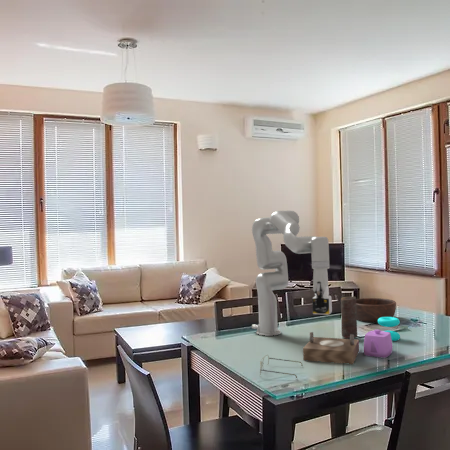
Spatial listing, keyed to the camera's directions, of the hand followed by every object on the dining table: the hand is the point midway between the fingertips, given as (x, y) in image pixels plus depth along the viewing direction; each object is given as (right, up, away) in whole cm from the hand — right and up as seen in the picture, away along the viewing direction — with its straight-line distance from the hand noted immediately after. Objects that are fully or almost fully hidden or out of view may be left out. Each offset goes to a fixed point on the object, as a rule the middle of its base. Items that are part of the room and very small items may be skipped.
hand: (322, 305), depth 204 cm
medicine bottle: (0, -3, 0) cm, 3 cm away
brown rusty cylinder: (+18, -20, +24) cm, 36 cm away
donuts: (+36, -20, +19) cm, 45 cm away
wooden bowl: (+43, -19, +66) cm, 81 cm away
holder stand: (+3, -20, -5) cm, 21 cm away
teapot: (+23, -20, -4) cm, 31 cm away
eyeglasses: (-21, -22, -24) cm, 39 cm away
